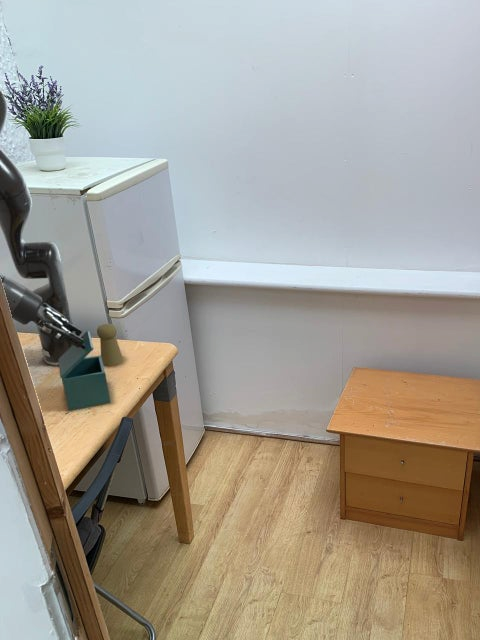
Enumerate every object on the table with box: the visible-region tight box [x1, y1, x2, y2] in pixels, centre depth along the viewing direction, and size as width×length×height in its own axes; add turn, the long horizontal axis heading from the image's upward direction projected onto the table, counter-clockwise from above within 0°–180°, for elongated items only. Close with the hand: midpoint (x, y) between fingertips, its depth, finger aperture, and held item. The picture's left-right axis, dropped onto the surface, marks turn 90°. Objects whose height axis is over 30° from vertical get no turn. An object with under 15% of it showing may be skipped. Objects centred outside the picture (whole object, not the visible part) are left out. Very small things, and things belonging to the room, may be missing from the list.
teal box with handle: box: [58, 329, 94, 380], centre depth 147 cm, size 10×10×5 cm
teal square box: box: [61, 354, 112, 412], centre depth 153 cm, size 10×10×9 cm
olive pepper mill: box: [96, 323, 124, 367], centre depth 169 cm, size 6×6×11 cm
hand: (80, 339), depth 147 cm, fingers closed on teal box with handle, 5 cm apart
